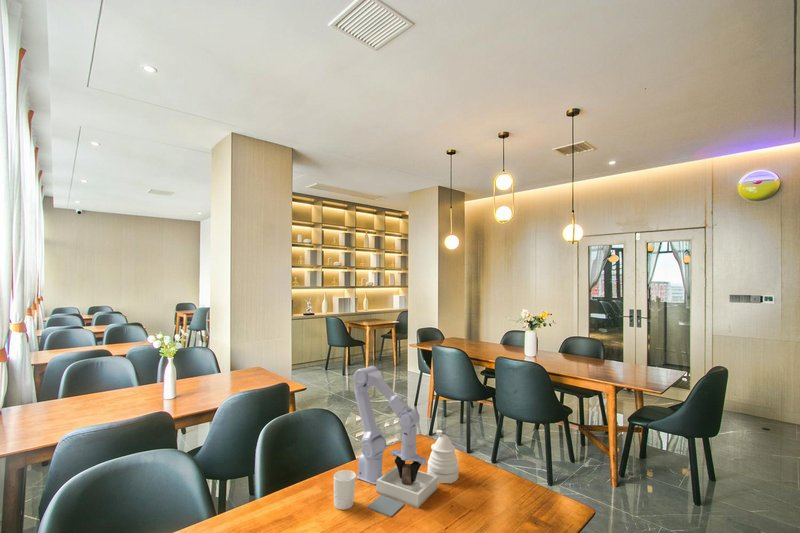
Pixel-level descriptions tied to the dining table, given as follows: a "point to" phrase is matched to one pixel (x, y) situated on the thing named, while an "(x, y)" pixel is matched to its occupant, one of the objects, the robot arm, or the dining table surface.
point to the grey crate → (407, 487)
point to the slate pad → (385, 506)
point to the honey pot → (443, 460)
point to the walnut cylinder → (406, 474)
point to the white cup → (344, 489)
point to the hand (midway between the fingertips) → (407, 479)
